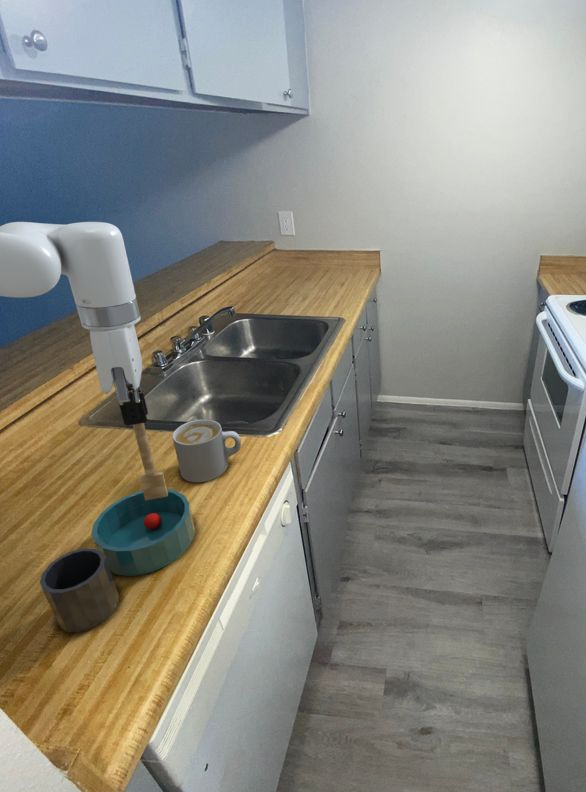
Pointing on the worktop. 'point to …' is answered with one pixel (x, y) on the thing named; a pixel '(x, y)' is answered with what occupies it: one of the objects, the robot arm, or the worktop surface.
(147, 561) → the bowl
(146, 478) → the paddle
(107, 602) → the crock
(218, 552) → the worktop surface
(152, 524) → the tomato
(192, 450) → the coffee mug
